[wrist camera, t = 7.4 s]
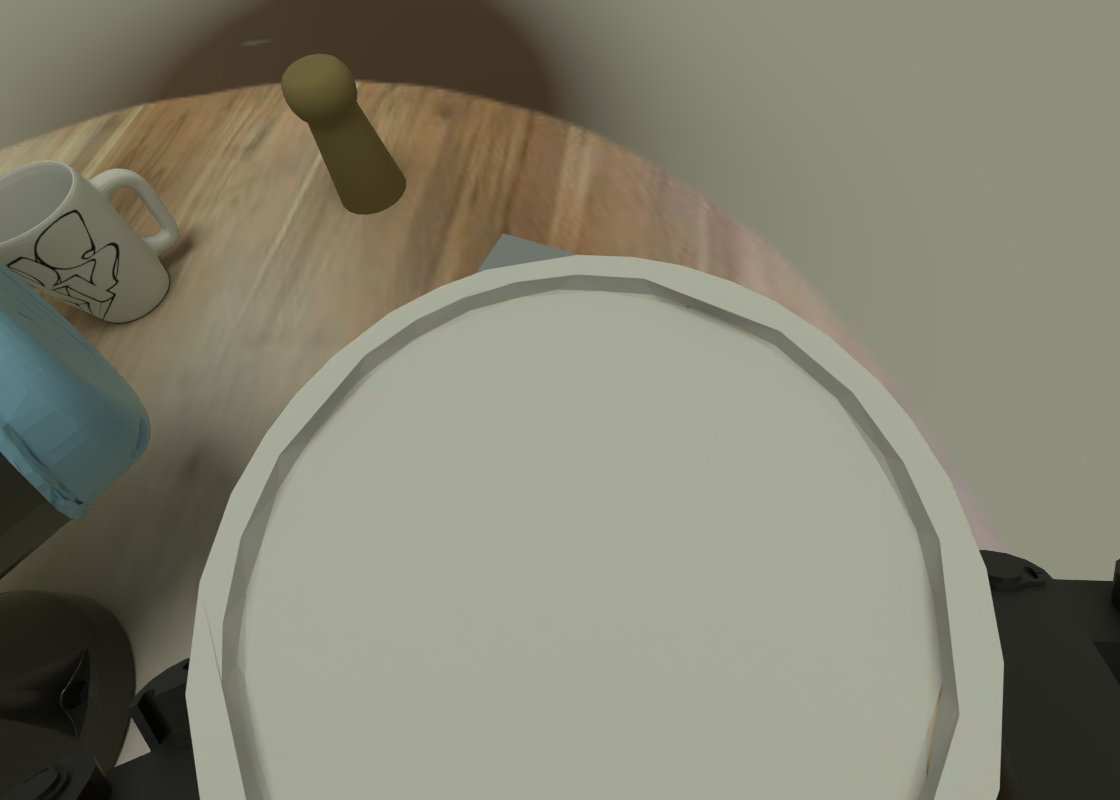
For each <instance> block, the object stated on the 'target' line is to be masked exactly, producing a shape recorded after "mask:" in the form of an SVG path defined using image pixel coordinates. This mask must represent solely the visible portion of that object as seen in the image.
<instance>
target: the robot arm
mask: <svg viewBox="0 0 1120 800" xmlns="http://www.w3.org/2000/svg"><path fill="white" fill-rule="evenodd" d="M149 439H150V422H149V417H148V415H147V412H146V410H145V408H144V406H143V404H142V403H141V401H140V400H139V398H138V396H137V395H136V394H135V392H134V391H133V390H132V388H131V387H130V386H129V385H128V383H127V382H126V381H125V380H124V378H123V377H122V376H121V375H120V374H119V373H118V372H117V371H116V369H115V368H114V367H113V366H112V365H111V364H110V363H109V362H108V361H107V360H106V359H105V358H104V356H103V355H102V354H101V353H100V352H99V351H98V350H97V349H96V348H95V347H94V346H93V345H92V344H91V343H90V342H89V341H88V340H87V339H86V338H85V337H84V336H83V335H82V334H81V333H80V332H79V331H78V330H77V329H76V328H75V327H74V326H73V325H72V324H71V323H70V322H69V321H68V320H66V319H65V318H64V317H63V316H62V315H61V314H60V313H59V312H58V311H57V310H56V309H55V308H54V307H52V306H51V305H50V304H49V303H48V302H47V301H46V300H45V299H44V298H43V297H42V296H40V295H39V294H38V293H37V292H36V291H35V290H34V289H33V288H31V287H30V286H29V285H28V284H27V283H26V282H25V281H23V280H22V279H21V278H20V277H19V276H18V275H17V274H15V273H14V272H13V271H12V270H11V269H9V268H8V267H7V266H6V265H5V264H3V263H2V262H1V261H0V579H1V578H3V577H4V576H5V575H6V574H7V573H9V572H10V571H11V570H12V569H13V568H14V567H16V566H17V565H18V564H19V563H20V562H21V561H23V560H24V559H25V558H26V557H27V556H28V555H30V554H31V553H32V552H33V551H34V550H36V549H37V548H38V547H39V546H40V545H41V544H43V543H44V542H45V541H46V540H47V539H48V538H50V537H51V536H52V535H53V534H54V533H55V532H57V531H58V530H59V529H60V528H61V527H63V526H64V525H65V524H66V523H67V522H68V521H70V520H71V519H80V518H82V517H84V516H85V515H86V514H87V513H88V512H89V510H90V508H91V502H92V501H93V500H94V499H96V498H97V497H98V496H99V495H100V494H101V493H102V492H103V491H104V490H105V489H106V488H107V487H108V486H110V485H111V484H112V483H113V482H114V481H115V480H116V479H117V478H118V477H119V476H120V475H121V474H123V473H124V472H125V471H126V470H127V469H128V468H129V467H130V466H131V465H132V464H133V463H134V462H136V461H137V460H138V459H139V457H140V456H141V455H142V453H143V452H144V451H145V449H146V447H147V445H148V442H149ZM979 552H980V554H981V556H982V559H983V561H984V564H985V566H986V569H987V574H988V580H989V585H990V590H991V596H992V601H993V607H994V612H995V617H996V623H997V628H998V634H999V639H1000V644H1001V650H1002V655H1003V660H1004V675H1003V704H1002V734H1001V763H1000V790H999V793H998V796H997V799H996V800H1120V559H1119V560H1117V561H1116V565H1115V572H1114V578H1113V581H1088V580H1057V579H1052V577H1051V576H1050V575H1049V574H1048V573H1047V572H1046V571H1045V570H1044V569H1042V568H1040V567H1038V566H1036V565H1035V564H1033V563H1031V562H1029V561H1027V560H1025V559H1022V558H1019V557H1016V556H1013V555H1010V554H1007V553H1001V552H994V551H988V550H979ZM189 662H190V658H188V659H185V660H183V661H181V662H179V663H177V664H176V665H174V666H172V667H170V668H168V669H166V670H165V671H164V672H162V673H161V674H159V675H158V676H157V677H155V678H154V679H152V680H151V681H150V682H149V683H148V684H147V685H146V686H145V687H144V688H143V689H142V690H141V691H140V692H139V693H138V694H137V695H136V696H135V697H134V699H133V700H132V694H133V664H132V657H131V651H130V648H129V644H128V641H127V638H126V636H125V633H124V631H123V629H122V628H121V626H120V624H119V623H118V621H117V620H116V619H115V617H114V616H113V615H112V614H111V613H110V612H109V611H108V610H107V609H105V608H104V607H103V606H101V605H100V604H98V603H97V602H95V601H92V600H90V599H88V598H85V597H81V596H77V595H70V594H63V593H55V592H48V591H40V590H23V591H12V592H6V593H0V800H200V796H199V788H198V781H197V774H196V767H195V760H194V753H193V745H192V738H191V731H190V724H189V717H188V709H187V702H186V687H187V679H188V670H189ZM129 714H130V715H131V717H132V718H133V720H134V722H135V724H136V725H137V727H138V729H139V731H140V732H141V734H142V736H143V738H144V739H145V741H146V743H147V744H148V746H149V748H150V750H151V752H150V753H147V754H145V755H143V756H140V757H138V758H135V759H133V760H131V761H128V762H126V763H124V764H121V765H119V766H117V767H114V768H112V766H113V764H114V761H115V759H116V756H117V754H118V751H119V749H120V746H121V743H122V740H123V737H124V734H125V730H126V727H127V723H128V719H129ZM111 768H112V769H111Z"/></svg>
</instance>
